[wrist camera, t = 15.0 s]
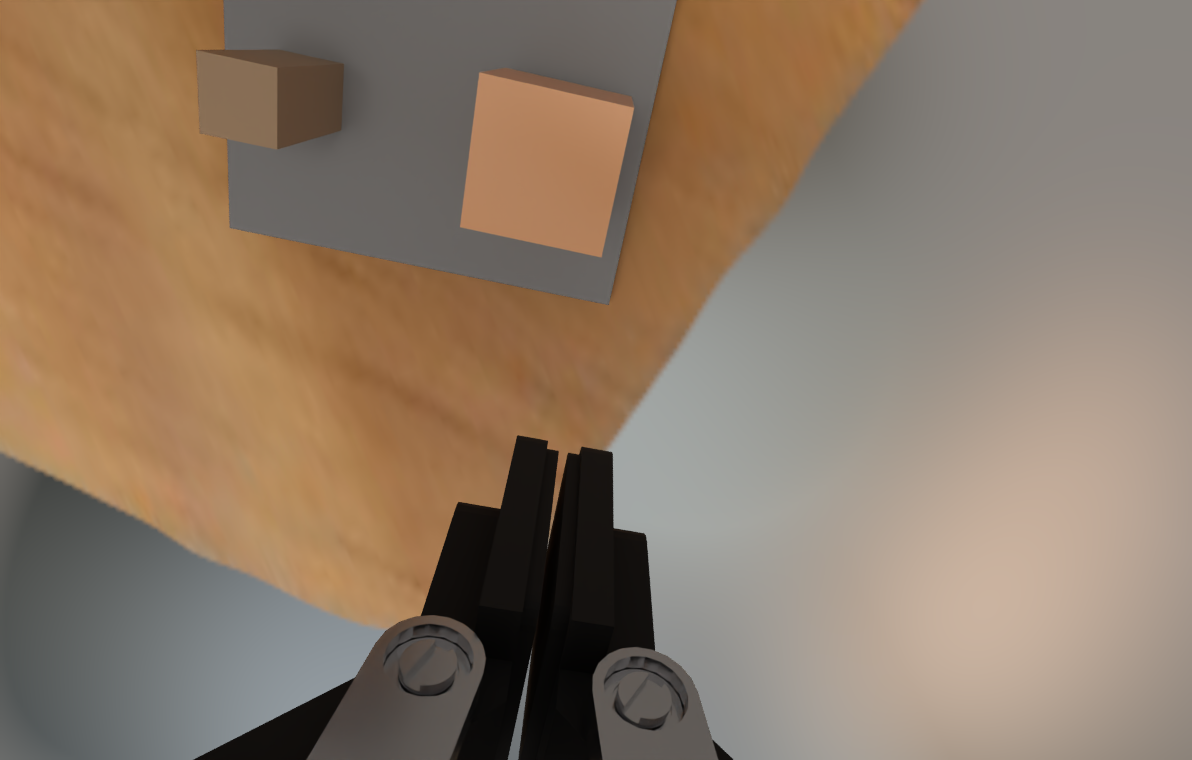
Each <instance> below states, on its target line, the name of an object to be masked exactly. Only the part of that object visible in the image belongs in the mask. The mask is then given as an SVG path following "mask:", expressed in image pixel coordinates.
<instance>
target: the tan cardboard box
mask: <svg viewBox="0 0 1192 760" xmlns="http://www.w3.org/2000/svg"><path fill="white" fill-rule="evenodd" d="M633 111H634V105H633V100H632V96H627V95H623V94H619V93H614V92H610V91H606V90H601V89H597V88H593V87H588V86H584V85H580V84H575V83H571V82H566V81H562V80H558V79H553V78H549V77H545V76H540V75H536V74H532V73H527V72H523V71H519V70H514V69H510V68H501V69H495V70H490V71H484V72H479V79H478V87H477V95H476V103H475V111H474V119H473V127H472V135H471V143H470V151H469V159H468V167H467V175H466V183H465V191H464V199H463V207H462V215H461V223H460V227H461V228H466V229H471V230H475V231H480V232H485V233H489V234H494V235H499V236H503V237H508V238H513V239H517V240H522V241H527V242H531V243H536V244H541V245H545V246H550V247H555V248H559V249H564V250H569V251H573V252H578V253H583V254H587V255H592V256H597V257H601V258H602V253H603V248H604V244H605V239H606V235H607V230H608V226H609V221H610V216H611V212H612V207H613V203H614V198H615V194H616V189H617V184H618V180H619V175H620V171H621V166H622V162H623V157H624V152H625V148H626V143H627V139H628V134H629V130H630V125H631V120H632V116H633Z"/></svg>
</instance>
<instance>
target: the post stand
mask: <svg viewBox="0 0 1192 760" xmlns="http://www.w3.org/2000/svg"><path fill="white" fill-rule="evenodd" d="M676 1H677V0H224V34H225V50H196V57H197V80H198V103H199V126H200V133H201V134H205V135H210V136H215V137H220V138H224V139H227V144H228V181H229V218H230V228H233V229H238V230H242V231H247V232H252V233H257V234H262V235H267V236H272V237H277V238H282V239H287V240H292V241H296V242H301V243H306V244H311V245H316V246H321V247H326V248H331V249H336V250H341V251H346V252H351V253H355V254H360V255H365V256H370V257H375V258H380V259H385V260H390V261H395V262H400V263H405V264H410V265H414V266H419V267H424V268H429V269H434V270H439V271H444V272H449V273H454V274H459V275H464V276H469V277H473V278H478V279H483V280H488V281H493V282H498V283H503V284H508V285H513V286H518V287H523V288H528V289H532V290H537V291H542V292H547V293H552V294H557V295H562V296H567V297H572V298H577V299H582V300H587V301H591V302H596V303H601V304H606V305H609V301H610V297H611V292H612V288H613V283H614V279H615V274H616V270H617V265H618V261H619V256H620V252H621V247H622V243H623V238H624V234H625V230H626V225H627V221H628V216H629V212H630V207H631V203H632V198H633V194H634V189H635V185H636V180H637V176H638V171H639V167H640V162H641V158H642V153H643V149H644V144H645V140H646V135H647V131H648V126H649V122H650V117H651V113H652V109H653V104H654V100H655V95H656V91H657V86H658V82H659V77H660V73H661V68H662V64H663V59H664V55H665V50H666V46H667V41H668V37H669V32H670V28H671V23H672V19H673V14H674V10H675V5H676ZM501 68H510V69H514V70H519V71H523V72H527V73H532V74H536V75H540V76H545V77H549V78H553V79H558V80H562V81H566V82H571V83H575V84H580V85H584V86H588V87H593V88H597V89H601V90H606V91H610V92H614V93H619V94H623V95H627V96H632V100H633V105H634V111H633V116H632V120H631V125H630V130H629V134H628V139H627V143H626V148H625V152H624V157H623V162H622V166H621V171H620V175H619V180H618V184H617V189H616V194H615V198H614V203H613V207H612V212H611V216H610V221H609V226H608V230H607V235H606V239H605V244H604V248H603V253H602V258H601V257H597V256H592V255H587V254H583V253H578V252H573V251H569V250H564V249H559V248H555V247H550V246H545V245H541V244H536V243H531V242H527V241H522V240H517V239H513V238H508V237H503V236H499V235H494V234H489V233H485V232H480V231H475V230H471V229H466V228H461V227H460V223H461V215H462V207H463V199H464V191H465V183H466V175H467V167H468V159H469V151H470V143H471V135H472V127H473V119H474V111H475V103H476V95H477V87H478V79H479V72H484V71H490V70H495V69H501Z"/></svg>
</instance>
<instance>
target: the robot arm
mask: <svg viewBox="0 0 1192 760" xmlns="http://www.w3.org/2000/svg"><path fill="white" fill-rule="evenodd" d="M547 445H548V441H546V440H541V439H535V438H530V437H524V436H517V439H516V444H515V448H514V453H513V457H512V461H511V466H510V470H509V475H508V479H507V483H506V488H505V492H504V497H503V501H502V505H501V509H497V508H491V507H485V506H480V505H474V504H468V503H462V502H458V504H457V506H456V509H455V512H454V515H453V518H452V521H451V524H450V527H449V530H448V533H447V537H446V540H445V543H444V546H443V549H442V552H441V555H440V558H439V561H438V565H437V568H436V571H435V574H434V577H433V580H432V583H431V586H430V589H429V592H428V596H427V599H426V602H425V605H424V608H423V611H422V614H421V616H416V617H413V618H410V619H407V620H404V621H401V622H399V623H397V624H396V625H394V626H393V627H391V628H389V629H388V630H386V631H385V632H384V634H383V635H382V636H381V637H380V639H379V640H378V641H377V642H376V643H375V645H374V647H373V648H372V650H371V652H370V653H369V655H368V657H367V659H366V660H365V662H364V664H363V665H362V667H361V669H360V670H359V672H358V674H357V675H356V677H355V678H353V679H351V680H349V681H348V682H345V683H343V684H341V685H340V686H338V687H336V688H333V689H331V690H330V691H328V692H326V693H324V694H322V695H320V696H318V697H316V698H314V699H312V700H310V701H308V702H306V703H304V704H302V705H300V706H298V707H296V708H294V709H292V710H290V711H288V712H286V713H284V714H282V715H280V716H278V717H276V718H274V719H273V720H271V721H269V722H267V723H265V724H263V725H261V726H259V727H257V728H255V729H253V730H251V731H249V732H247V733H245V734H243V735H242V736H239V737H237V738H235V739H233V740H231V741H229V742H227V743H225V744H223V745H221V746H220V747H218V748H216V749H214V750H212V751H210V752H208V753H206V754H204V755H202V756H200V757H198V758H196V759H194V760H508V755H509V751H510V746H511V742H512V737H513V732H514V728H515V723H516V719H517V714H518V709H519V704H520V700H521V696H522V691H523V687H524V682H525V678H526V673H527V668H528V664H529V659H530V655H531V662H530V670H529V678H528V686H527V695H526V702H525V711H524V719H523V727H522V735H521V743H520V751H519V759H518V760H733V759H732V758H731V757H730V756H729V755H728V754H727V753H726V752H725V751H724V750H723V749H722V748H721V747H720V746H719V745H718V744H717V743H715V742H714V741H713V740H712V737H711V734H710V731H709V727H708V724H707V721H706V717H705V714H704V711H703V707H702V704H701V701H700V697H699V694H698V691H697V689H696V688H695V685H694V683H693V681H692V679H691V677H690V676H689V675H688V674H687V673H686V671H685V670H684V669H683V668H682V667H681V666H680V665H679V664H677V663H676V662H675V661H673V660H672V659H671V658H669V657H668V656H666V655H663V654H661V653H659V652H656V651H655V643H654V631H653V617H652V603H651V590H650V576H649V563H648V550H647V540H646V535H645V534H644V533H638V532H633V531H626V530H621V529H614V528H613V454H612V452H608V451H603V450H597V449H591V448H586V447H581V450H580V454H579V455H578V454H572V453H568V455H567V460H566V464H565V469H564V473H563V478H562V483H561V488H560V492H559V497H558V502H557V506H556V511H555V516H554V520H553V525H552V530H551V534H550V539H549V544H548V537H549V529H550V520H551V512H552V504H553V495H554V487H555V478H556V470H557V462H558V453H559V451H555V450H550V449H547ZM547 546H548V548H547ZM531 650H532V654H531Z"/></svg>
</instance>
